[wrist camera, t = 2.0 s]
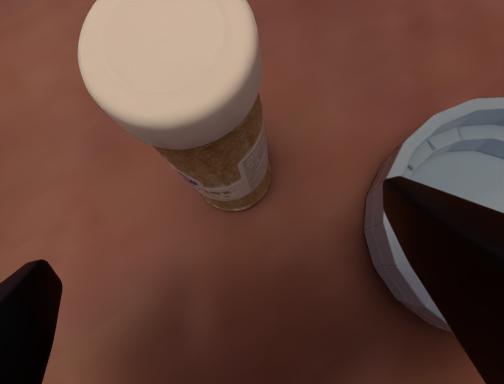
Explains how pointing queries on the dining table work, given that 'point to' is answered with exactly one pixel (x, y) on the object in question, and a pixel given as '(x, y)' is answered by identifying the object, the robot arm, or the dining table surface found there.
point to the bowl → (438, 186)
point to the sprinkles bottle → (184, 88)
